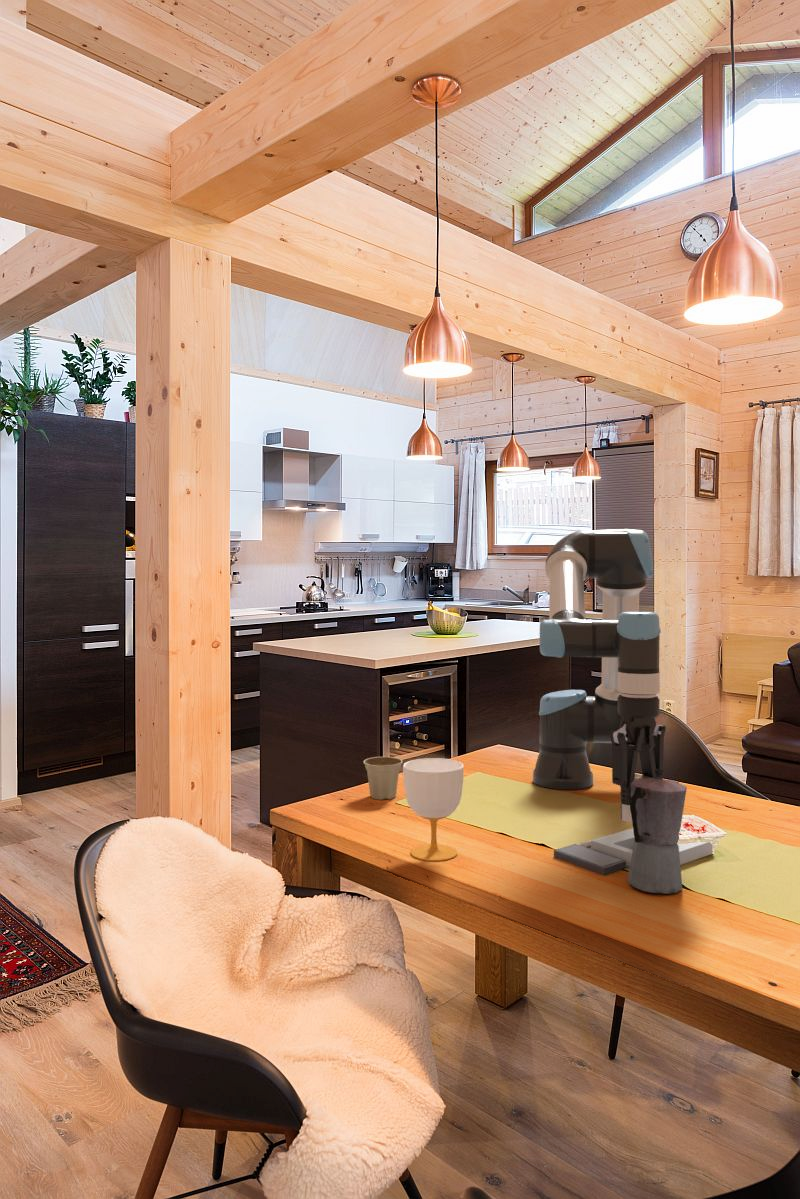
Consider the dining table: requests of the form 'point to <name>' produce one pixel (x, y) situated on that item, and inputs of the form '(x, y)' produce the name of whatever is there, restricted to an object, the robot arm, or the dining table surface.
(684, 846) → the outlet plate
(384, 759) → the flower pot
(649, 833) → the moka pot
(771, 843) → the dining table surface
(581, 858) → the phone
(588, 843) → the cable
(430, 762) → the cup
